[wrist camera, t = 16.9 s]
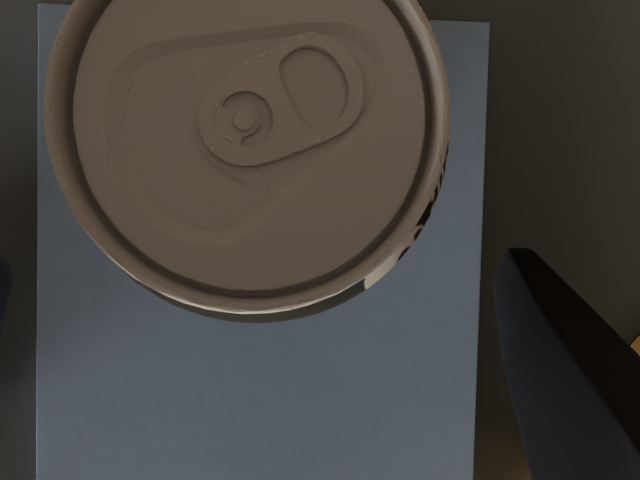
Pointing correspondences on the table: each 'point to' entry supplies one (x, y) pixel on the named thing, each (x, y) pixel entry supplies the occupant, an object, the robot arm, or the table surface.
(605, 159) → the table surface
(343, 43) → the beverage can
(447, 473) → the mat
